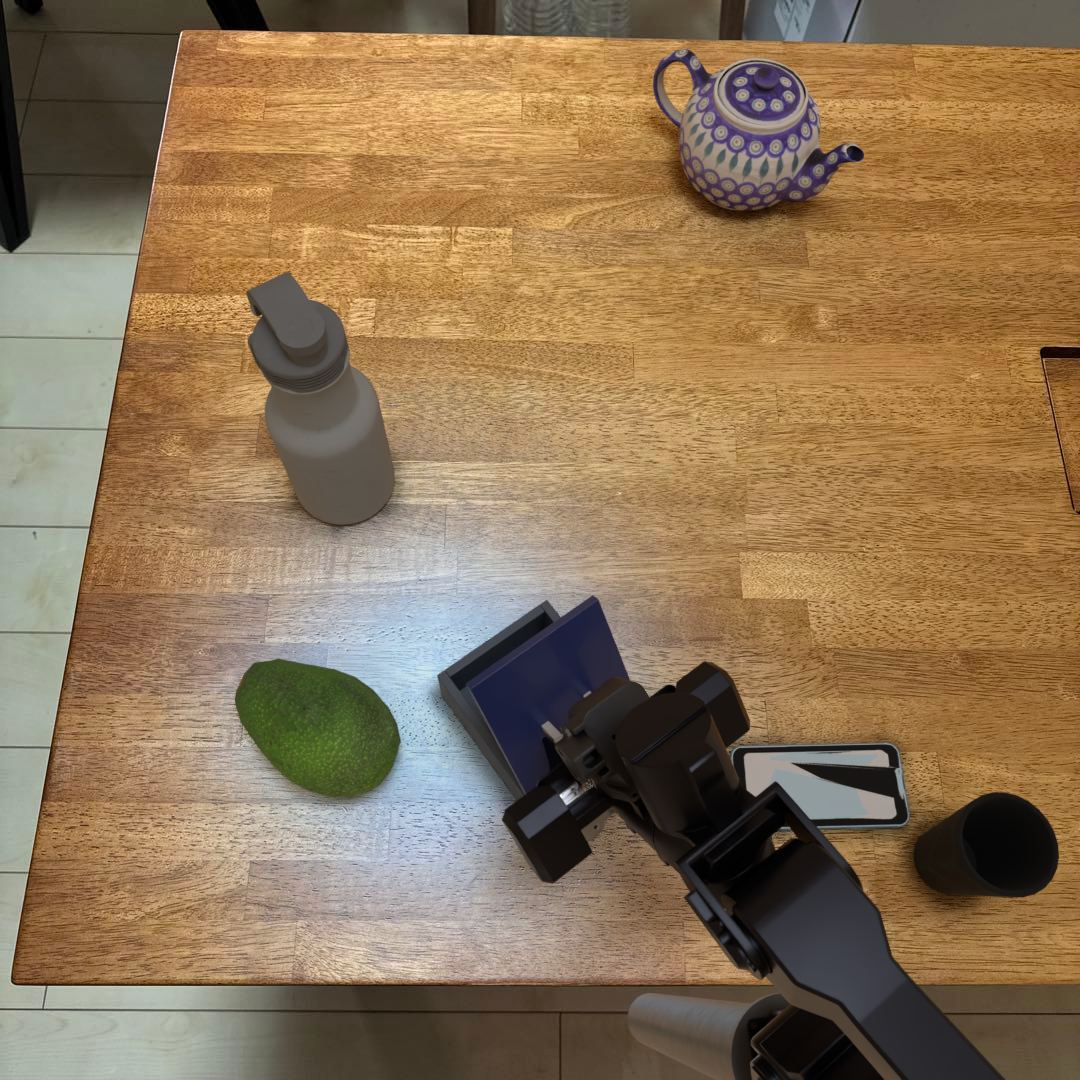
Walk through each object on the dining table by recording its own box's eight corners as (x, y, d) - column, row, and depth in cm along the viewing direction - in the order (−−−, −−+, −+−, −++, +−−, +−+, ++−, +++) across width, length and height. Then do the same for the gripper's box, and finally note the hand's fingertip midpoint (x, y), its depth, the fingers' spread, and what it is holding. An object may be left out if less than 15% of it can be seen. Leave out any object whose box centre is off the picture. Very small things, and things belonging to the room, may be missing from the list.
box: (441, 695, 92) (436, 675, 86) (544, 624, 95) (546, 599, 89) (530, 820, 88) (532, 808, 82) (635, 741, 91) (644, 723, 85)
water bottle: (276, 465, 101) (197, 289, 75) (363, 420, 103) (315, 234, 77) (325, 545, 97) (259, 390, 72) (414, 497, 100) (381, 329, 74)
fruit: (222, 730, 90) (189, 702, 81) (295, 643, 94) (272, 606, 84) (354, 832, 87) (336, 815, 78) (426, 738, 90) (417, 711, 81)
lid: (465, 683, 73) (494, 715, 70) (592, 594, 76) (626, 621, 73) (529, 804, 82) (558, 838, 78) (642, 720, 85) (674, 748, 81)
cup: (888, 879, 87) (943, 865, 76) (917, 799, 90) (975, 774, 79) (974, 924, 86) (1043, 916, 75) (1001, 841, 88) (1072, 822, 77)
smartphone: (729, 745, 90) (897, 741, 90) (727, 747, 91) (894, 743, 91) (737, 831, 87) (912, 827, 87) (735, 832, 88) (908, 828, 88)
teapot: (610, 161, 117) (623, 52, 104) (687, 86, 122) (710, -27, 109) (791, 276, 112) (831, 177, 98) (865, 193, 117) (912, 88, 103)
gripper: (762, 644, 64) (631, 572, 77) (521, 826, 59) (426, 715, 72) (811, 769, 69) (680, 681, 82) (592, 945, 64) (491, 821, 77)
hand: (574, 721), depth 78 cm, fingers closed on lid, 5 cm apart
